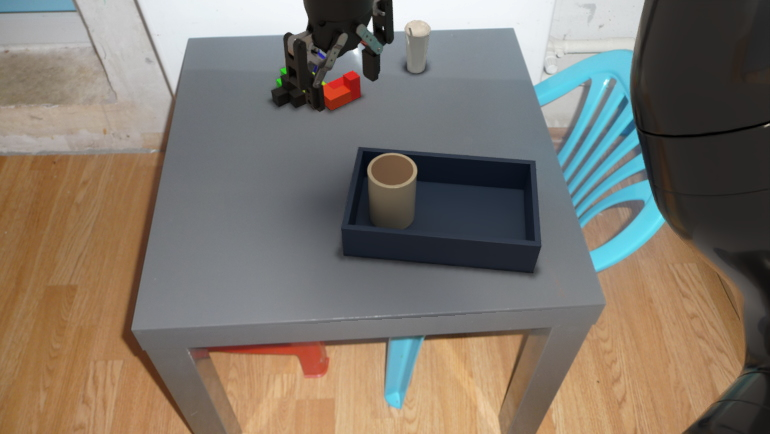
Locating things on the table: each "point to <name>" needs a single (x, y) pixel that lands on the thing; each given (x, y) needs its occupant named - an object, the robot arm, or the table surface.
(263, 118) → the table surface
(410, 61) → the milkshake
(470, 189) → the navy tray
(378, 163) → the cup
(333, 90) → the building blocks
